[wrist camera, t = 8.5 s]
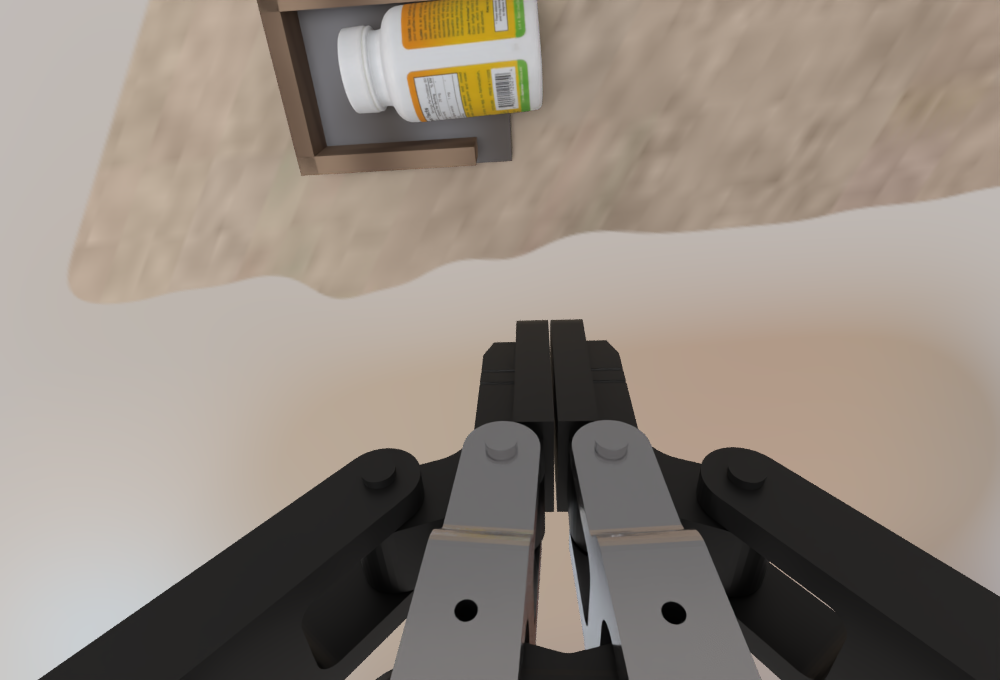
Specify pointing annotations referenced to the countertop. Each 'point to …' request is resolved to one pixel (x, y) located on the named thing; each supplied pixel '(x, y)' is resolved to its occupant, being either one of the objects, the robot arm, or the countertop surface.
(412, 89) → the supplement bottle
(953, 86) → the countertop surface
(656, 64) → the countertop surface
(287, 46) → the u rest
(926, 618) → the robot arm
